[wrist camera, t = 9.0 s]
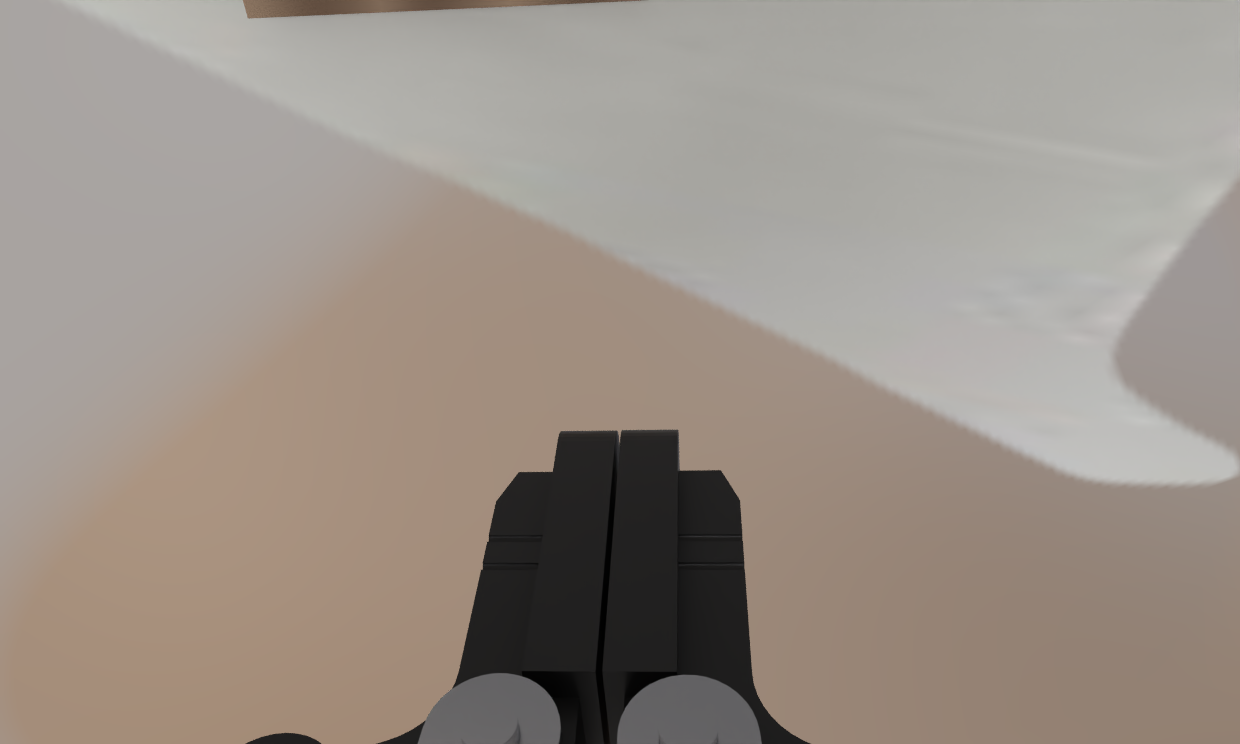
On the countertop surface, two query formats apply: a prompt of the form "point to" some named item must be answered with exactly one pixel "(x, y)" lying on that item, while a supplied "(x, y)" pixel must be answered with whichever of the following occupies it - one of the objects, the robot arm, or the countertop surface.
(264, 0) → the board
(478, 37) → the countertop surface
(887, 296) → the countertop surface
